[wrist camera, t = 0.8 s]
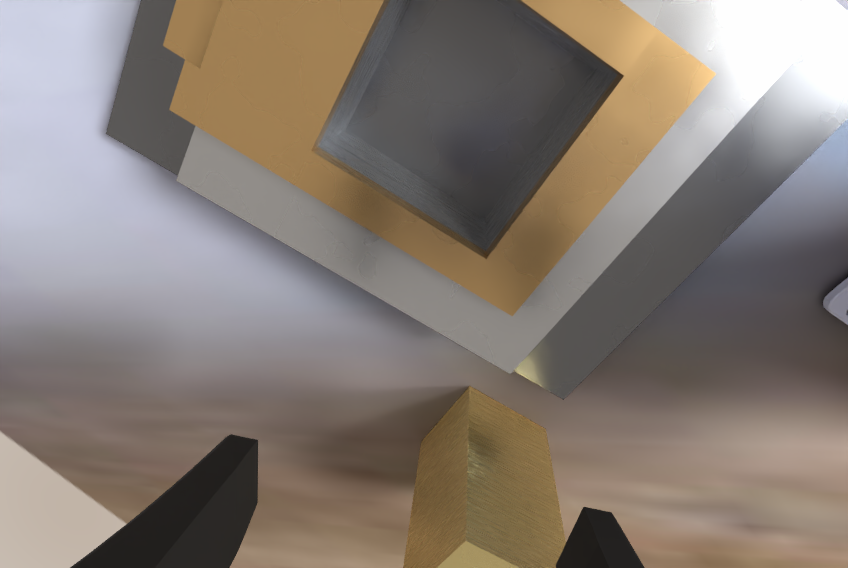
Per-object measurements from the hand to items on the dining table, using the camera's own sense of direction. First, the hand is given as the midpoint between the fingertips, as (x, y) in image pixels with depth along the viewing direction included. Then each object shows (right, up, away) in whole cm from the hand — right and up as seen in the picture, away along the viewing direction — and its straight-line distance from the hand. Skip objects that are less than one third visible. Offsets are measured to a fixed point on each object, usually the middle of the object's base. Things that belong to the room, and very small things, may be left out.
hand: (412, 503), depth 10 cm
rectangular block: (+3, -2, +12) cm, 13 cm away
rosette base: (+2, +11, +5) cm, 12 cm away
